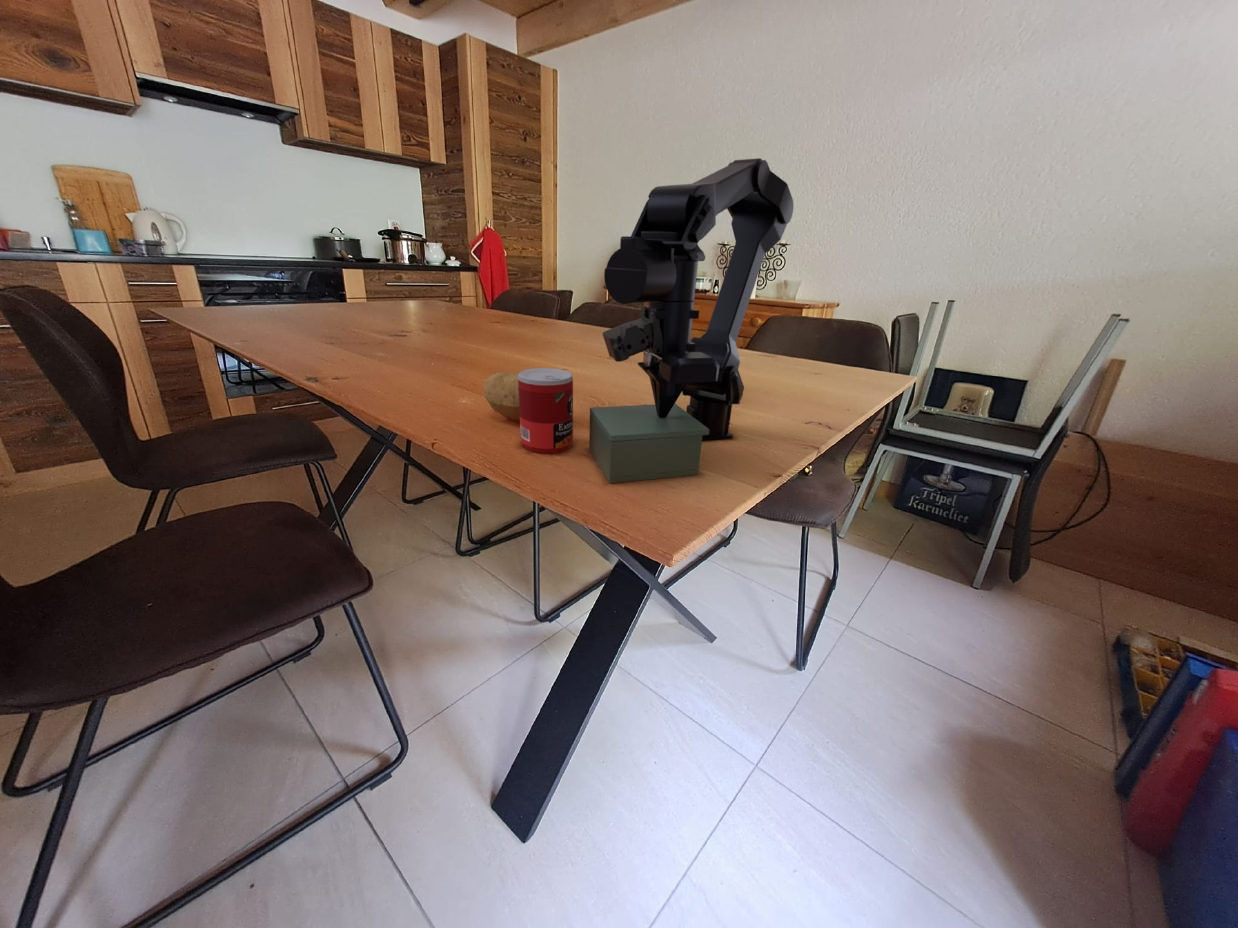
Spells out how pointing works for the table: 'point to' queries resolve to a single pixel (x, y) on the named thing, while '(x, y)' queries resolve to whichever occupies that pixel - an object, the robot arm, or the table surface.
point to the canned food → (546, 409)
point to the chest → (644, 456)
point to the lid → (645, 423)
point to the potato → (503, 394)
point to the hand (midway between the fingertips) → (661, 417)
